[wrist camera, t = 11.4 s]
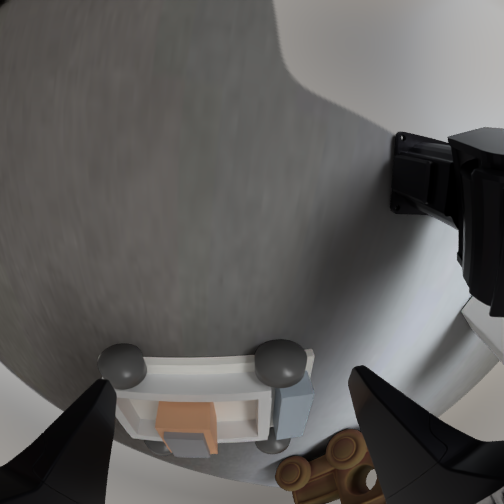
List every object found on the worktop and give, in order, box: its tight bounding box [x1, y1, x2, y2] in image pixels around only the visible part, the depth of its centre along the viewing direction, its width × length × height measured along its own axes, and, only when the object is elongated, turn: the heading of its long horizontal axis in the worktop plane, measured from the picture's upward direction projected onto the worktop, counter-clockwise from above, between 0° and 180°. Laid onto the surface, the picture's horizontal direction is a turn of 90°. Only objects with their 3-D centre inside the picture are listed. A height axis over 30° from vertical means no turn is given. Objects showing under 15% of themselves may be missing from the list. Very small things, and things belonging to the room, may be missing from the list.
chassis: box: [97, 340, 315, 456], centre depth 24 cm, size 21×16×4 cm
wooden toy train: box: [275, 429, 386, 504], centre depth 28 cm, size 20×11×17 cm, turn 135°
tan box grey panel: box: [155, 401, 218, 458], centre depth 22 cm, size 5×6×6 cm
